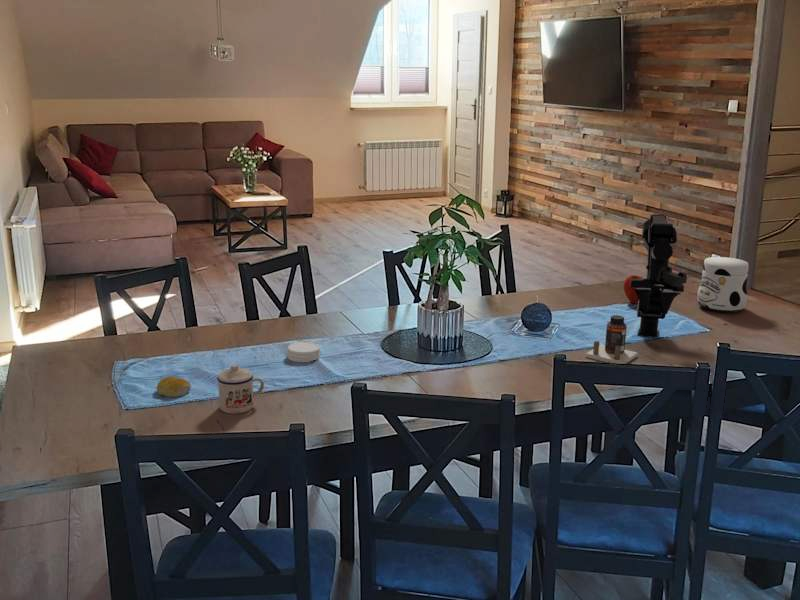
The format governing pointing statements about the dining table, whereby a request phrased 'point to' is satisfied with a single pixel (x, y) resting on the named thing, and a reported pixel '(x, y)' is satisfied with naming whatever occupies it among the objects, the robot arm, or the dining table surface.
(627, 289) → the apple
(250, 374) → the teacup with lid
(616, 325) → the supplement bottle
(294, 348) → the white short cylinder
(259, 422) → the dining table surface
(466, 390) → the dining table surface
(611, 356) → the pegboard
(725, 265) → the milk container
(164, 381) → the bread roll
